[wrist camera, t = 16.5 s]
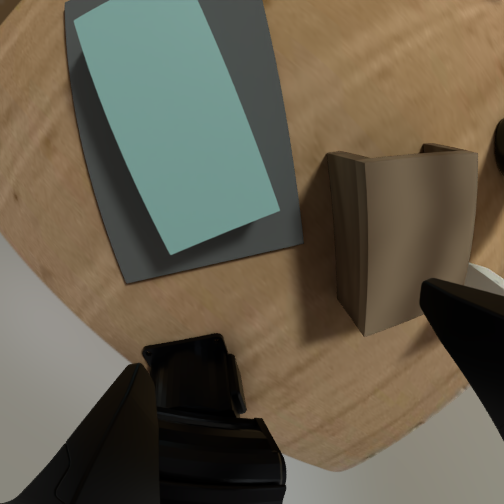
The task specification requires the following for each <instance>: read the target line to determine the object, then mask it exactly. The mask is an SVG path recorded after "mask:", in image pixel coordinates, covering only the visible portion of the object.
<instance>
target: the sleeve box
mask: <svg viewBox="0 0 504 504" xmlns="http://www.w3.org/2000/svg"><path fill="white" fill-rule="evenodd" d="M327 159H328V167H329V176H330V186H331V196H332V208H333V220H334V235H335V251H336V274H337V299H338V301H339V302H340V303H341V305H342V306H343V308H344V309H345V310H346V312H347V313H348V315H349V316H350V317H351V319H352V320H353V322H354V323H355V325H356V326H357V327H358V329H359V330H360V332H361V333H362V335H363V336H364V337H366V336H369V335H372V334H375V333H377V332H380V331H383V330H386V329H388V328H391V327H394V326H396V325H399V324H401V323H404V322H406V321H409V320H411V319H414V318H416V317H418V316H421V315H423V314H424V313H423V311H422V310H421V308H420V305H419V299H420V290H421V284H422V282H423V281H424V280H427V279H429V278H437V279H441V280H445V281H449V282H453V283H456V284H460V285H464V284H465V280H466V275H467V270H468V264H469V259H470V253H471V246H472V239H473V232H474V223H475V214H476V201H477V183H478V153H475V152H471V151H467V150H463V149H458V148H454V147H449V146H444V145H439V144H434V143H428V144H424V153H419V154H408V155H397V156H387V157H378V158H368V157H364V156H360V155H356V154H351V153H347V152H343V151H338V152H330V153H327Z"/></svg>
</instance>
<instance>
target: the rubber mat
mask: <svg viewBox="0 0 504 504" xmlns="http://www.w3.org/2000/svg"><path fill="white" fill-rule="evenodd" d="M107 1H109V0H69V1H67V2H65V29H66V44H67V56H68V65H69V74H70V81H71V88H72V95H73V101H74V107H75V113H76V118H77V123H78V128H79V133H80V137H81V142H82V146H83V151H84V155H85V159H86V163H87V167H88V171H89V175H90V178H91V182H92V186H93V189H94V193H95V196H96V199H97V203H98V206H99V209H100V212H101V215H102V218H103V222H104V225H105V228H106V230H107V233H108V236H109V239H110V242H111V245H112V248H113V250H114V253H115V256H116V258H117V261H118V264H119V266H120V269H121V271H122V274H123V276H124V279H125V281H126V283H131V282H135V281H140V280H144V279H149V278H153V277H158V276H162V275H167V274H171V273H175V272H180V271H184V270H189V269H193V268H198V267H202V266H207V265H211V264H215V263H220V262H224V261H229V260H233V259H237V258H242V257H246V256H251V255H255V254H260V253H264V252H268V251H273V250H277V249H282V248H286V247H290V246H295V245H299V244H303V243H304V240H303V232H302V223H301V215H300V207H299V199H298V192H297V184H296V177H295V170H294V163H293V157H292V150H291V144H290V137H289V131H288V125H287V119H286V113H285V108H284V102H283V96H282V91H281V86H280V80H279V75H278V70H277V65H276V60H275V55H274V51H273V46H272V41H271V37H270V32H269V28H268V23H267V19H266V15H265V10H264V6H263V2H262V0H198V2H199V5H200V7H201V9H202V11H203V13H204V16H205V18H206V20H207V23H208V25H209V27H210V29H211V32H212V34H213V36H214V39H215V41H216V43H217V46H218V48H219V51H220V53H221V55H222V58H223V60H224V63H225V65H226V67H227V70H228V72H229V75H230V77H231V80H232V82H233V85H234V87H235V90H236V92H237V95H238V97H239V100H240V102H241V105H242V107H243V110H244V113H245V115H246V118H247V120H248V123H249V126H250V128H251V131H252V134H253V136H254V139H255V142H256V144H257V147H258V150H259V152H260V155H261V158H262V160H263V163H264V166H265V169H266V172H267V174H268V177H269V180H270V183H271V186H272V188H273V191H274V194H275V197H276V200H277V203H278V206H279V208H280V211H278V212H276V213H273V214H270V215H268V216H265V217H263V218H260V219H258V220H255V221H253V222H250V223H248V224H245V225H243V226H240V227H238V228H235V229H233V230H230V231H228V232H225V233H223V234H220V235H218V236H216V237H213V238H211V239H208V240H206V241H203V242H201V243H199V244H196V245H194V246H191V247H189V248H186V249H184V250H182V251H179V252H177V253H175V254H172V255H170V253H169V251H168V250H167V248H166V246H165V244H164V242H163V240H162V238H161V236H160V234H159V232H158V230H157V228H156V226H155V224H154V222H153V220H152V218H151V216H150V214H149V212H148V210H147V208H146V206H145V203H144V201H143V199H142V197H141V195H140V193H139V191H138V189H137V186H136V184H135V182H134V180H133V178H132V175H131V173H130V171H129V169H128V167H127V164H126V162H125V160H124V157H123V155H122V153H121V151H120V148H119V146H118V143H117V141H116V139H115V136H114V134H113V131H112V129H111V127H110V124H109V122H108V119H107V117H106V114H105V111H104V109H103V106H102V104H101V101H100V98H99V96H98V93H97V90H96V88H95V85H94V82H93V79H92V77H91V74H90V71H89V68H88V65H87V62H86V59H85V56H84V53H83V50H82V47H81V44H80V41H79V37H78V34H77V31H76V27H75V24H74V20H75V19H77V18H79V17H80V16H82V15H84V14H85V13H87V12H89V11H91V10H92V9H94V8H96V7H98V6H100V5H102V4H103V3H105V2H107Z"/></svg>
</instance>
